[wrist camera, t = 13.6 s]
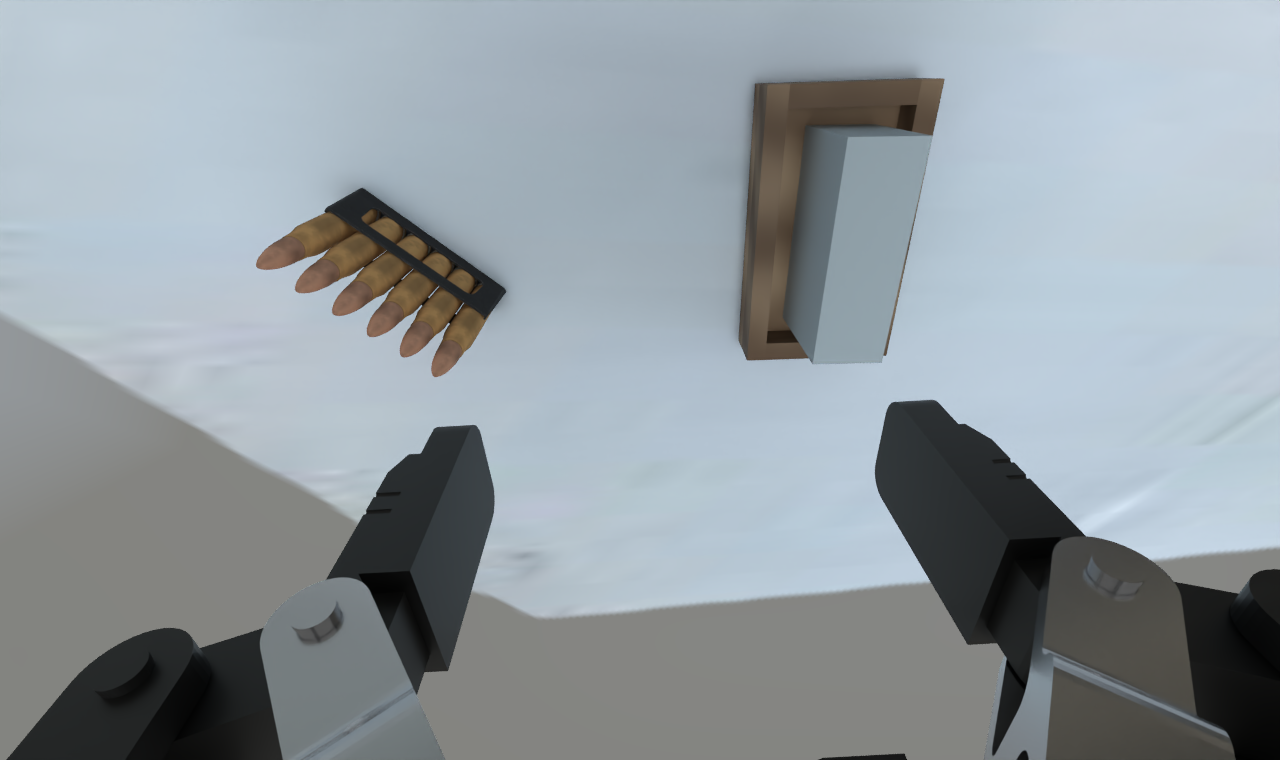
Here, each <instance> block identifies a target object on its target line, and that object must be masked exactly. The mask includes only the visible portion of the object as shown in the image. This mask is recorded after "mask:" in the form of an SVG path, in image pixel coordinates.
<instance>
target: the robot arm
mask: <svg viewBox="0 0 1280 760" xmlns="http://www.w3.org/2000/svg"><path fill="white" fill-rule="evenodd" d="M875 479H876V484H877V488H878V492H879V494H880V496H881V498H882V500H883V502H884V503H885V505H886V507H887V508H888V510H889V512H890V513H891V515H892V517H893V519H894V520H895V522H896V524H897V525H898V527H899V529H900V530H901V532H902V534H903V536H904V537H905V539H906V541H907V542H908V544H909V546H910V547H911V549H912V551H913V553H914V554H915V556H916V558H917V559H918V561H919V563H920V564H921V566H922V568H923V570H924V571H925V573H926V575H927V576H928V578H929V580H930V581H931V583H932V584H933V586H934V588H935V590H936V591H937V593H938V595H939V597H940V598H941V600H942V602H943V603H944V605H945V607H946V609H947V610H948V612H949V614H950V615H951V617H952V618H953V620H954V622H955V624H956V625H957V627H958V629H959V631H960V632H961V634H962V636H963V637H964V639H965V641H966V643H967V644H968V645H971V644H989V643H997V644H998V645H999V647H1000V648H1001V650H1002V651H1003V653H1004V655H1005V656H1004V658H1003V661H1002V663H1001V666H1000V669H999V674H998V680H997V686H996V692H995V698H994V703H993V709H992V715H991V721H990V726H989V733H988V738H987V744H986V749H985V755H984V760H1280V570H1277V569H1272V570H1263V571H1260V572H1258V573H1256V574H1254V575H1253V576H1252V577H1251V578H1250V580H1249V581H1248V582H1247V584H1246V585H1245V587H1244V588H1243V589H1242V591H1241V592H1240V593H1239V594H1237V593H1231V592H1226V591H1221V590H1215V589H1210V588H1204V587H1199V586H1193V585H1188V584H1183V583H1177V582H1174V581H1173V580H1172V579H1171V578H1170V576H1168V575H1167V573H1166V572H1165V571H1164V570H1163V569H1161V568H1160V567H1159V566H1158V565H1156V564H1155V563H1154V562H1152V561H1151V560H1149V559H1148V558H1146V557H1145V556H1143V555H1141V554H1139V553H1138V552H1136V551H1134V550H1132V549H1130V548H1127V547H1125V546H1123V545H1120V544H1117V543H1115V542H1112V541H1108V540H1104V539H1100V538H1095V537H1086V536H1085V535H1084V534H1083V533H1082V532H1081V531H1080V530H1079V529H1078V528H1077V527H1076V526H1075V525H1074V524H1073V523H1072V521H1071V520H1070V519H1069V518H1068V517H1067V516H1066V515H1065V514H1064V513H1063V512H1062V511H1061V510H1060V509H1059V508H1058V507H1057V506H1056V505H1055V504H1054V503H1053V502H1052V501H1051V500H1050V499H1049V498H1048V497H1047V496H1046V495H1045V494H1044V493H1043V492H1042V491H1041V490H1040V489H1039V488H1038V487H1037V486H1036V484H1035V483H1034V482H1033V481H1032V480H1031V479H1026V474H1025V473H1024V472H1023V471H1022V470H1021V469H1020V468H1019V467H1018V466H1017V465H1016V464H1015V463H1014V462H1013V463H1011V461H1010V458H1009V457H1008V456H1007V455H1006V454H1005V453H1004V452H1003V451H1002V450H1001V448H1000V447H999V446H998V445H997V444H996V443H995V442H994V441H993V440H992V439H990V438H988V437H987V436H985V435H983V434H981V433H980V432H978V431H976V430H975V429H973V428H971V427H969V426H968V425H966V424H958V423H957V422H956V421H955V420H954V419H953V418H952V417H951V416H950V415H949V414H948V413H947V411H946V410H945V409H944V408H943V407H942V406H941V405H940V404H939V403H938V402H937V401H935V400H922V401H905V402H893V403H891V404H890V405H889V407H888V409H887V412H886V416H885V421H884V426H883V431H882V435H881V440H880V445H879V450H878V455H877V460H876V465H875ZM366 512H367V513H366V515H363V517H362V518H361V520H360V522H359V524H358V525H357V527H356V529H355V531H354V532H353V534H352V536H351V538H350V539H349V541H348V543H347V544H346V546H345V548H344V550H343V551H342V553H341V555H340V556H339V558H338V560H337V562H336V563H335V565H334V567H333V569H332V570H331V572H330V574H329V576H328V577H327V579H326V580H324V581H321V582H318V583H315V584H313V585H311V586H309V587H306V588H305V589H303V590H301V591H299V592H298V593H296V594H295V595H293V596H292V597H290V598H289V599H288V600H287V601H285V602H284V603H283V604H282V605H281V606H280V607H279V608H278V609H277V610H276V611H275V612H274V613H273V615H272V616H271V617H270V618H269V620H268V621H267V623H266V625H265V626H264V628H262V629H259V630H257V631H253V632H250V633H247V634H244V635H240V636H237V637H234V638H231V639H228V640H225V641H221V642H218V643H215V644H212V645H209V646H206V647H202V648H199V647H198V645H197V644H196V643H195V641H194V640H193V639H192V637H191V636H190V635H189V634H188V633H187V632H186V631H183V630H181V629H175V628H163V629H157V630H152V631H149V632H145V633H142V634H140V635H137V636H135V637H132V638H130V639H128V640H126V641H124V642H122V643H120V644H118V645H117V646H115V647H113V648H112V649H110V650H108V651H107V652H105V653H104V654H102V655H101V656H99V657H98V658H97V659H96V660H94V661H93V662H92V663H90V664H89V665H88V666H87V667H86V668H85V669H84V670H83V671H82V672H80V673H79V674H78V675H77V677H76V678H75V679H74V680H73V681H72V682H71V683H70V684H69V686H68V687H67V688H66V689H65V690H64V691H63V693H62V694H61V695H60V696H59V697H58V699H57V700H56V701H55V702H54V704H53V705H52V706H51V707H50V708H49V709H48V711H47V712H46V713H45V714H44V715H43V717H42V718H41V719H40V720H39V721H38V723H37V724H36V725H35V726H34V728H33V729H32V730H31V731H30V732H29V734H28V735H27V736H26V737H25V738H24V740H23V741H22V742H21V743H20V744H19V745H18V747H17V748H16V749H15V750H14V752H13V753H12V754H11V755H10V756H9V757H8V759H7V760H445V758H444V755H443V753H442V751H441V749H440V746H439V744H438V742H437V740H436V738H435V735H434V733H433V731H432V728H431V726H430V724H429V722H428V720H427V717H426V715H425V713H424V711H423V709H422V706H421V704H420V702H419V699H418V697H417V692H418V690H419V686H420V683H421V680H422V677H423V674H424V672H436V671H448V669H449V666H450V662H451V659H452V655H453V652H454V649H455V645H456V642H457V638H458V635H459V631H460V628H461V624H462V621H463V618H464V614H465V611H466V607H467V604H468V600H469V597H470V594H471V590H472V587H473V583H474V580H475V576H476V573H477V569H478V566H479V563H480V559H481V556H482V552H483V549H484V545H485V542H486V539H487V535H488V532H489V528H490V525H491V521H492V518H493V513H494V488H493V483H492V479H491V474H490V470H489V466H488V462H487V458H486V454H485V450H484V446H483V442H482V438H481V434H480V431H479V429H478V427H477V426H476V425H467V426H449V427H437V428H435V429H434V430H433V432H432V434H431V435H430V437H429V439H428V441H427V443H426V445H425V447H424V449H423V451H422V453H421V454H409V455H408V456H407V457H405V458H404V459H403V460H402V461H401V462H400V463H398V464H397V465H396V466H395V467H394V468H393V469H392V470H390V471H389V472H388V473H387V475H386V477H385V479H384V480H383V482H382V484H381V486H380V487H379V489H378V491H377V492H376V497H374V498H373V499H372V501H371V503H370V505H369V506H368V508H367V510H366ZM819 760H907V759H906V756H905V754H889V755H870V756H851V757H833V758H822V759H819Z"/></svg>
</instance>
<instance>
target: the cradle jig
mask: <svg viewBox="0 0 1280 760" xmlns="http://www.w3.org/2000/svg"><path fill="white" fill-rule="evenodd" d="M943 84H944V79H931V78H912V79H881V80H851V81H821V82H791V83H760V84H755V96H754V111H753V127H752V142H751V158H750V173H749V189H748V204H747V220H746V235H745V251H744V266H743V282H742V297H741V313H740V328H739V342H740V345H741V347H742V349H743V352H744V354H745V356H746V359H747V360H773V359H801V358H808V356H807V355H806V353H805V351H804V350H803V348H802V347H801V345H800V344H799V342H798V341H797V339H796V337H795V336H794V334H793V333H792V331H791V330H790V328H789V327H788V325H787V323H786V322H785V320H784V319H783V309H784V301H785V293H786V284H787V276H788V268H789V259H790V251H791V243H792V234H793V226H794V218H795V210H796V201H797V193H798V185H799V176H800V168H801V160H802V151H803V143H804V135H805V126H806V125H850V124H876V125H881V126H886V127H891V128H896V129H901V130H906V131H911V132H916V133H922V134H927V135H932V136H933V131H934V127H935V122H936V117H937V112H938V108H939V103H940V98H941V93H942V89H943ZM930 146H931V145H930ZM928 155H929V154H928ZM927 160H928V159H927ZM926 164H927V163H926ZM925 169H926V168H925ZM924 174H925V172H924ZM923 179H924V176H923ZM922 183H923V181H922ZM921 188H922V185H921ZM920 193H921V190H920ZM919 198H920V194H919ZM918 202H919V199H918ZM917 207H918V203H917ZM916 212H917V208H916ZM916 212H915V217H916ZM915 217H914V221H915ZM914 221H913V225H912V230H911V234H910V239H909V243H908V248H907V252H906V257H905V261H904V266H903V270H902V274H901V279H900V283H899V288H898V292H897V297H896V301H895V306H894V310H893V315H892V319H891V323H890V328H889V332H888V337H887V341H886V346H885V350H884V355H883V356H886V354H887V349H888V344H889V340H890V335H891V330H892V325H893V321H894V316H895V311H896V306H897V302H898V297H899V292H900V288H901V283H902V278H903V273H904V269H905V264H906V259H907V254H908V250H909V245H910V240H911V235H912V231H913V226H914Z"/></svg>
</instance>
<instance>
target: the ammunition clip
mask: <svg viewBox="0 0 1280 760" xmlns="http://www.w3.org/2000/svg"><path fill="white" fill-rule="evenodd" d="M325 212H326V213H324V214H322V215H320V216H318V217H316V218H313V219H311V220H309V221H307V222H305V223H303V224H301V225H299V226H297V227H295V228H294V230H293V231H292V232H291V233H290V234H288V235H286V236H284V237H283V238H282V239H280V240H278V241H276V242H275V243H273V244H272V245H270V246H269V247H268V248H267V249H265V250H264V252H263V253H262V254H261V255H260V256H259V258H258V260H257V263H256V266H257V268H259V269H263V270H270V269H278V268H282V267H285V266H288V265H291V264H293V263H295V262H297V261H300V260H302V259H304V258H306V257H311V256H316V255H318V254H320V253H322V252H324V251H326V250H328V249H329V248H330V249H329V250H328V251H327V252H326V254H325V255H324V256H323V257H322V258H320V259H319V260H318V261H317V262H316V263H314V264H313V265H311V266H310V267H309V268H308V269H307V270H305V271H304V273H303V274H302V275H301V276H300V277H299V279H298V281H297V283H296V286H295V290H296V292H298V293H310V292H315V291H318V290H320V289H323V288H325V287H327V286H329V285H331V284H332V283H334V282H336V281H338V280H340V279H341V278H344V277H347V276H350V275H352V274H354V273H356V272H357V271H358V270H360V269H361V268H363V267H365V268H363V269H362V270H361V271H360V272H359V273H358V275H357V277H356V279H355V280H353V281H352V282H351V283H350V284H349V286H347V287H346V288H345V289H344V290H343V291H342V292H341V293H340V295H339V296H338V297H337V299H336V300H335V302H334V305H333V308H332V313H333V314H334V315H336V316H343V315H347V314H350V313H352V312H355V311H357V310H358V309H360V308H362V307H363V306H364V305H366V304H367V303H369V302H370V301H372V300H373V299H374V298H376V297H379V296H381V295H383V294H385V293H386V292H387V291H388V290H389V289H391V288H392V287H393V286H394V288H393V289H392V290H391V291H390V292H389V293H388V296H387V298H386V300H385V301H384V302H383V303H382V304H381V306H380V307H379V308H378V309H377V310H376V311H375V313H374V314H373V316H372V317H371V319H370V321H369V324H368V327H367V335H368V336H369V337H376V336H379V335H382V334H384V333H386V332H388V331H390V330H391V329H392V328H394V327H395V326H396V325H397V324H398V323H399V322H401V321H402V320H403V319H404V318H405V317H406V316H409V315H411V314H412V313H414V312H415V311H416V310H417V309H418V308H419V306H420V305H422V307H421V309H420V310H419V311H418V313H417V315H416V318H415V320H414V322H413V323H412V324H411V327H410V328H409V329H408V330H407V332H406V334H405V335H404V337H403V340H402V342H401V346H400V355H401V356H402V357H409V356H412V355H414V354H416V353H417V352H419V351H420V350H421V349H422V348H423V347H425V346H426V345H427V344H428V342H429V341H430V340H431V339H432V338H433V337H434V336H435V335H436V334H438V333H439V332H441V331H442V330H443V329H444V328H445V327H446V325H447V324H448V323H450V325H449V326H448V327H447V329H446V331H445V333H444V336H443V340H442V342H441V344H440V346H439V348H438V349H437V351H436V354H435V356H434V358H433V361H432V368H431V369H432V375H433V376H434V377H438V376H441V375H443V374H445V373H446V372H448V371H449V370H450V369H451V368H452V367H453V366H454V365H455V364H456V363H457V361H458V360H459V358H460V357H461V356H462V355H463V353H464V352H465V351H466V350H467V349H468V348H470V347H471V345H472V344H473V342H474V340H475V339H476V337H477V335H478V334H479V332H480V330H481V328H482V327H483V325H484V323H485V322H486V320H487V318H488V317H489V315H490V313H491V312H492V310H493V309H494V308H495V306H496V305H497V304H498V302H499V301H500V299H501V298H502V297H503V295H504V294H505V293H506V290H505V288H503V287H502V286H500V285H499V284H498V283H496V282H495V281H493V280H492V279H491V278H489V277H488V276H486V275H485V274H484V273H482V272H481V271H479V270H478V269H476V268H475V267H474V266H472V265H471V264H469V263H468V262H467V261H465V260H464V259H462V258H461V257H460V256H458V255H457V254H455V253H454V252H452V251H451V250H450V249H448V248H447V247H445V246H444V245H443V244H441V243H440V242H438V241H437V240H435V239H434V238H433V237H431V236H430V235H428V234H427V233H426V232H424V231H423V230H421V229H420V228H419V227H417V226H416V225H414V224H413V223H411V222H410V221H409V220H407V219H406V218H404V217H403V216H402V215H400V214H399V213H397V212H396V211H394V210H393V209H392V208H390V207H389V206H387V205H386V204H385V203H383V202H382V201H380V200H379V199H378V198H376V197H375V196H373V195H372V194H370V193H369V192H368V191H366V190H365V189H363V188H361V189H359V190H357V191H355V192H353V193H352V194H350V195H348V196H346V197H344V198H343V199H341V200H339V201H337V202H336V203H334V204H332V205H330V206H328V207H327V208H326V209H325ZM331 247H332V248H331ZM386 250H387V251H386ZM385 251H386V252H385ZM384 252H385V253H384ZM382 253H383V254H382ZM381 254H382V255H381ZM379 255H381V256H379ZM378 256H379V257H378ZM377 257H378V258H377ZM375 258H377V259H375ZM374 259H375V260H374ZM373 260H374V261H373ZM413 268H414V269H413ZM412 269H413V270H412ZM411 270H412V271H411ZM410 271H411V272H410ZM409 272H410V273H409ZM408 273H409V274H408ZM406 274H408V275H407V276H406V277H405V278H404V279H403V280H401V279H402V278H403V277H404V276H405V275H406ZM438 286H439V288H438V289H437V290H436V291H435V292H434V293H433V295H432V296H431V297H430V298H428V297H429V296H430V294H431V293H432V292H433V291H434V290H435V289H436V288H437V287H438ZM463 302H464V304H463ZM462 304H463V306H462V307H461V309H460V310H459V312H458V313H457V314H455V313H456V312H457V310H458V309H459V308H460V306H461V305H462Z"/></svg>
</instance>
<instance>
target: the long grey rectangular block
mask: <svg viewBox="0 0 1280 760" xmlns="http://www.w3.org/2000/svg"><path fill="white" fill-rule="evenodd" d="M931 141H932V135H927V134H922V133H916V132H911V131H906V130H901V129H896V128H891V127H886V126H881V125H876V124H850V125H806V126H805V135H804V143H803V151H802V160H801V168H800V176H799V185H798V193H797V201H796V210H795V218H794V226H793V234H792V243H791V251H790V259H789V268H788V276H787V284H786V293H785V301H784V309H783V319H784V320H785V322H786V323H787V325H788V327H789V328H790V330H791V331H792V333H793V334H794V336H795V337H796V339H797V341H798V342H799V344H800V345H801V347H802V348H803V350H804V351H805V353H806V355H807V356H808V358H809V359H810V361H811V362H812V364H840V363H882V359H883V355H884V350H885V346H886V341H887V337H888V332H889V328H890V323H891V319H892V315H893V310H894V306H895V301H896V297H897V292H898V288H899V283H900V279H901V274H902V270H903V266H904V261H905V257H906V252H907V248H908V243H909V239H910V234H911V230H912V225H913V221H914V217H915V212H916V208H917V203H918V199H919V194H920V190H921V185H922V181H923V176H924V172H925V168H926V163H927V159H928V154H929V150H930V145H931Z"/></svg>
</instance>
